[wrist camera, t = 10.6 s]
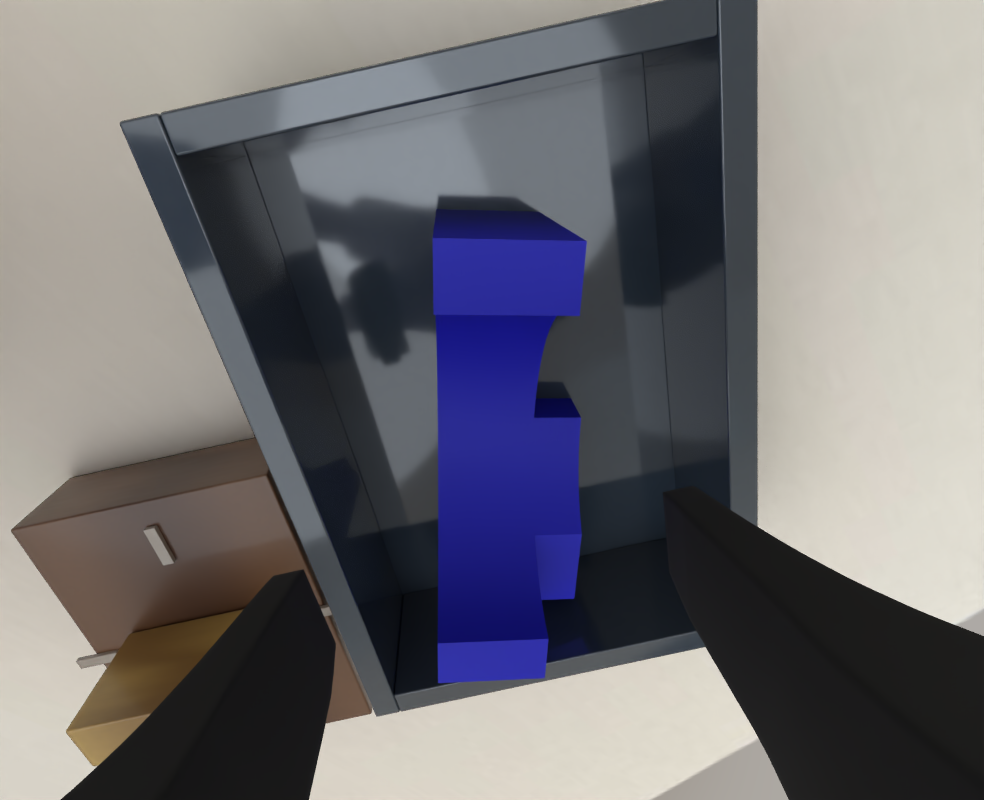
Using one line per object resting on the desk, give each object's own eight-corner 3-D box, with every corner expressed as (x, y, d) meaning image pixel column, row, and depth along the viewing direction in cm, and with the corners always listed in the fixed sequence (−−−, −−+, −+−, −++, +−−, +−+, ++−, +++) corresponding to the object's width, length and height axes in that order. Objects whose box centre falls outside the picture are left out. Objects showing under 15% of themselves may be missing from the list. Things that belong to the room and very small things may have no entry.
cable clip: (557, 541, 21) (596, 675, 16) (439, 544, 21) (438, 683, 15) (589, 212, 16) (661, 242, 11) (436, 209, 16) (432, 238, 11)
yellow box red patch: (150, 665, 19) (87, 776, 16) (129, 633, 19) (58, 740, 15) (291, 635, 19) (258, 740, 16) (274, 601, 19) (236, 702, 15)
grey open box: (390, 598, 23) (375, 717, 18) (218, 131, 16) (117, 121, 11) (691, 533, 23) (758, 636, 18) (659, 32, 15) (758, -22, 11)
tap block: (186, 691, 24) (151, 765, 21) (53, 480, 19) (-15, 537, 17) (393, 647, 24) (387, 715, 21) (308, 425, 19) (284, 472, 16)
